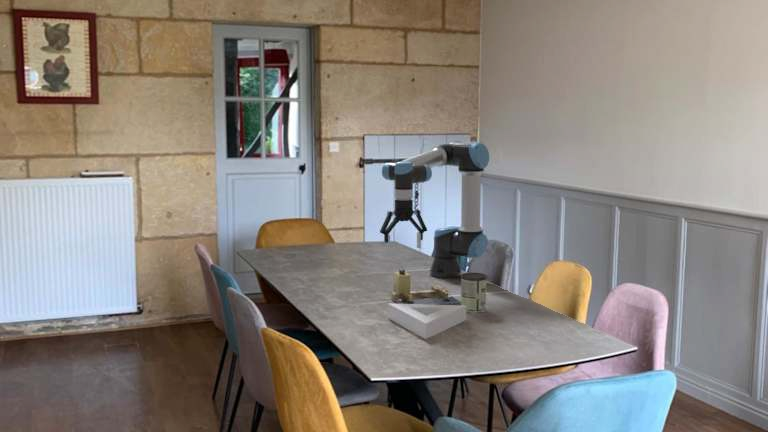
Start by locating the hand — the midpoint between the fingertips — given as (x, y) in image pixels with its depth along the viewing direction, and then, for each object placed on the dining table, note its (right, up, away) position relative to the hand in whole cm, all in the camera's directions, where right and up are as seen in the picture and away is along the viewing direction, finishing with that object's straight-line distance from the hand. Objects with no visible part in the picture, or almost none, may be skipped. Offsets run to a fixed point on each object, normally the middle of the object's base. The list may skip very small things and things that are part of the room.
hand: (403, 249), depth 330 cm
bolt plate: (+10, -23, -8) cm, 26 cm away
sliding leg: (0, -20, -4) cm, 21 cm away
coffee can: (+28, -24, -14) cm, 39 cm away
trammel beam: (+8, -22, -1) cm, 23 cm away
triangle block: (+4, -27, -34) cm, 44 cm away
